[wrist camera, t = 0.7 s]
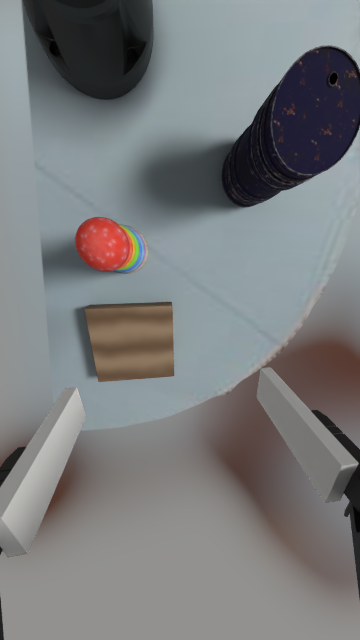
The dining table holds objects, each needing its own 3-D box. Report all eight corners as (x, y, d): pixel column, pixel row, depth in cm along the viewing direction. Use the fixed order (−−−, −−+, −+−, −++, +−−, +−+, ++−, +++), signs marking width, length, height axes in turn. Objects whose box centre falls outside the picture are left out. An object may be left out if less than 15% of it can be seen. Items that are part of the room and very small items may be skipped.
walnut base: (90, 304, 37) (84, 309, 34) (171, 301, 38) (172, 305, 36) (102, 373, 42) (98, 382, 39) (173, 368, 44) (174, 376, 41)
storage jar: (261, 215, 35) (331, 191, 21) (212, 196, 33) (253, 154, 19) (285, 152, 32) (386, 75, 18) (234, 127, 30) (301, 17, 16)
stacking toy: (143, 277, 36) (129, 301, 19) (100, 265, 35) (41, 279, 17) (152, 234, 34) (147, 215, 16) (107, 219, 32) (47, 181, 15)
